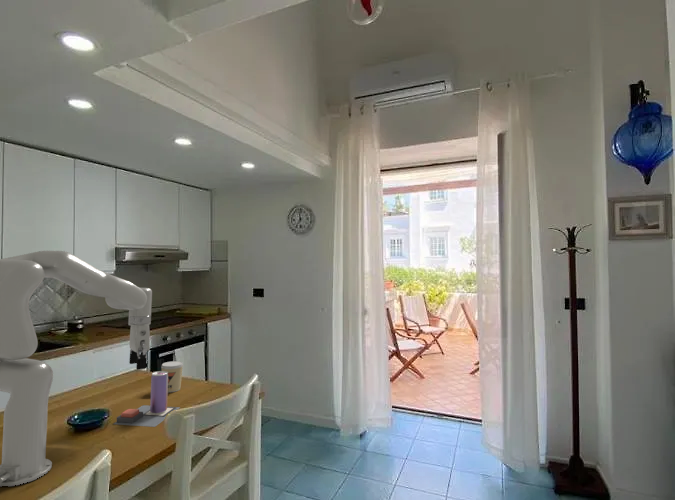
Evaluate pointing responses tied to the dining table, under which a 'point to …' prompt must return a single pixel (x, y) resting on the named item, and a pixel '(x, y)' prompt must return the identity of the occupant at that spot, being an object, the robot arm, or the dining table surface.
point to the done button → (130, 413)
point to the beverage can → (159, 392)
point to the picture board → (145, 417)
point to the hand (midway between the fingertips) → (137, 366)
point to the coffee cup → (173, 374)
